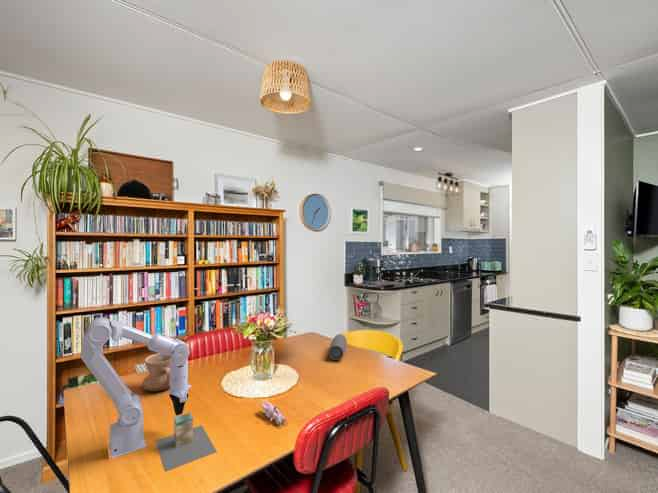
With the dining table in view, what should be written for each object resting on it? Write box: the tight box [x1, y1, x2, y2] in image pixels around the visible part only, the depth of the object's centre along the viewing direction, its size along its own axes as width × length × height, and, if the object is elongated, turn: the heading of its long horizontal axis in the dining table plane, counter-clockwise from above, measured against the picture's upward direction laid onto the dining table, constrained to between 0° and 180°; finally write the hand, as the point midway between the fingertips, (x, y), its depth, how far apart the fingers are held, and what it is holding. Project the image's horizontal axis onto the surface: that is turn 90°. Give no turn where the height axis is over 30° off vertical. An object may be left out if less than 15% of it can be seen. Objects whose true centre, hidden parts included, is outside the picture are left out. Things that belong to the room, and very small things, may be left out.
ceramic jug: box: [141, 353, 171, 392], centre depth 145 cm, size 18×14×14 cm
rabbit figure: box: [260, 401, 288, 428], centre depth 121 cm, size 6×6×15 cm
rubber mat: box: [155, 425, 218, 473], centre depth 103 cm, size 15×18×1 cm
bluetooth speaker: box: [328, 333, 348, 361], centre depth 190 cm, size 23×9×10 cm, turn 172°
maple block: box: [173, 412, 194, 447], centre depth 105 cm, size 5×4×8 cm
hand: (178, 414), depth 111 cm, fingers closed
